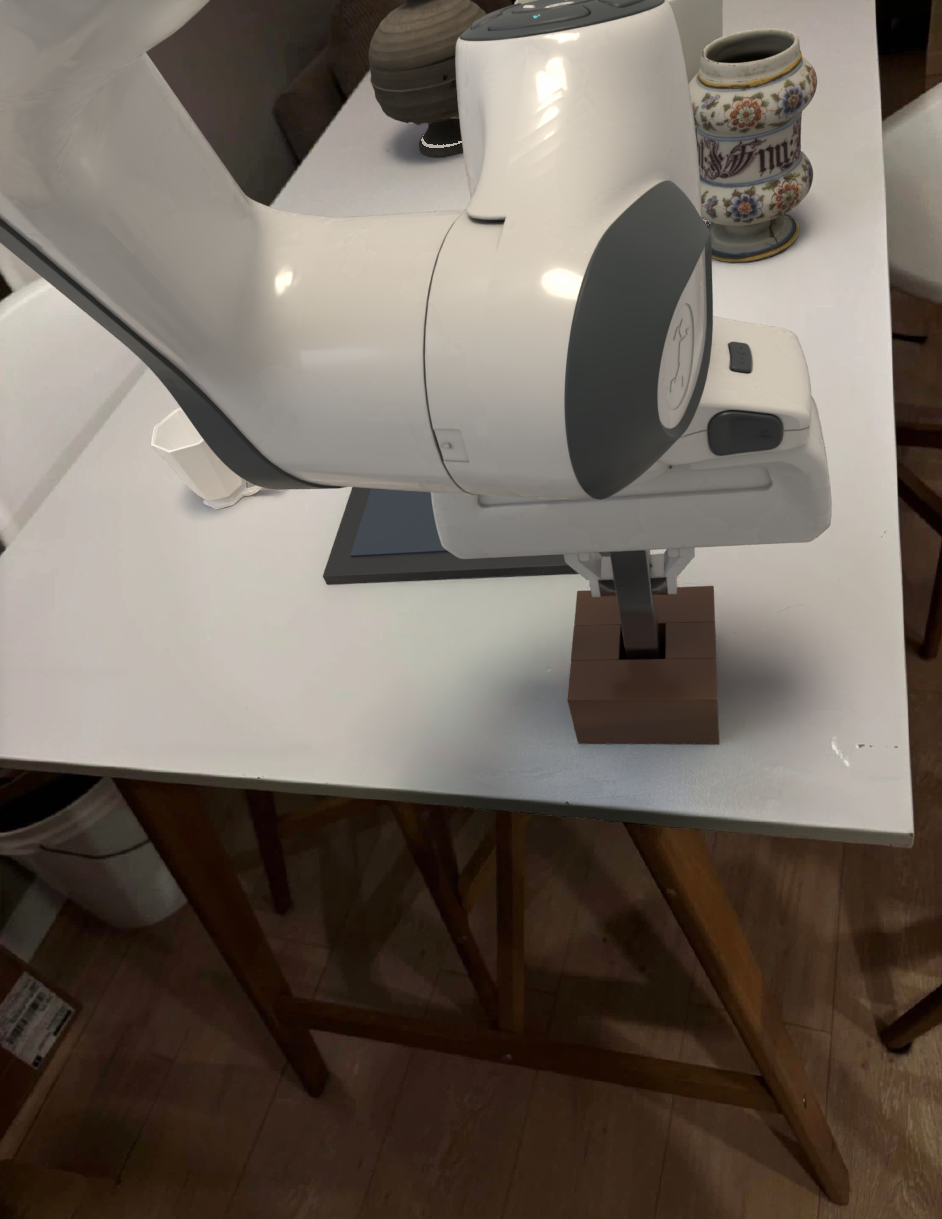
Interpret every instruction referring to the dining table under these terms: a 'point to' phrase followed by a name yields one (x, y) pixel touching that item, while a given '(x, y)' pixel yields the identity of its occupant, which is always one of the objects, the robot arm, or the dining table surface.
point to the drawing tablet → (411, 544)
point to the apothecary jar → (752, 140)
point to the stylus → (636, 604)
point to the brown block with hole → (645, 674)
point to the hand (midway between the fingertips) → (635, 587)
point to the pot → (422, 67)
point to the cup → (197, 462)
